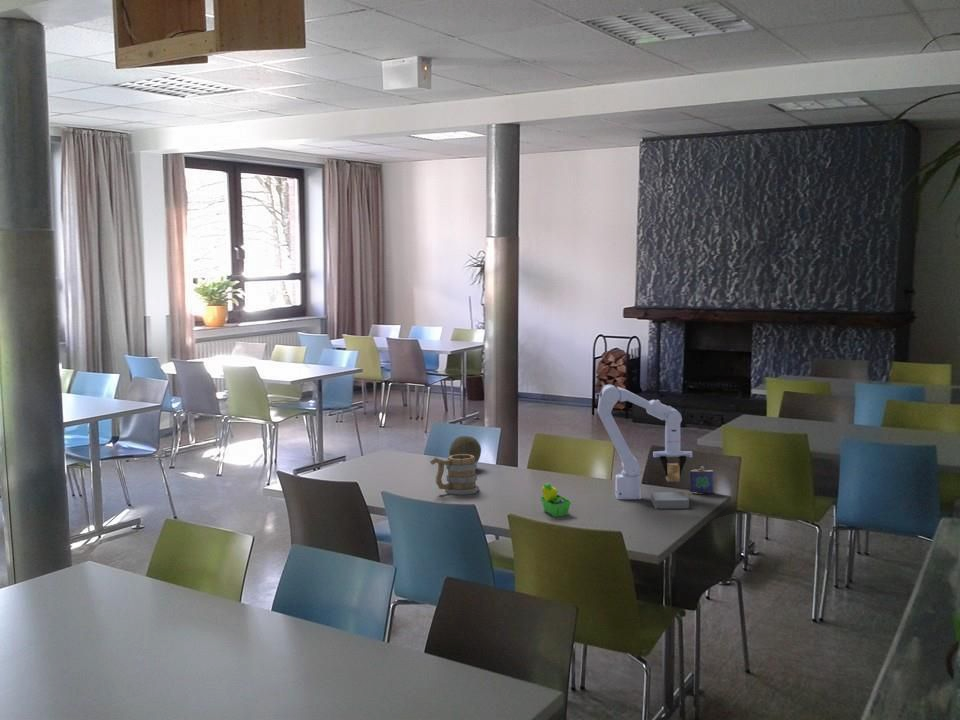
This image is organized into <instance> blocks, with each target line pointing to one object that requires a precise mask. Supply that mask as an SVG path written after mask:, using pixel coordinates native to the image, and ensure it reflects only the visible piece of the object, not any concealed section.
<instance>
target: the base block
mask: <svg viewBox="0 0 960 720" xmlns="http://www.w3.org/2000/svg"><path fill="white" fill-rule="evenodd" d="M651 500H652V501H651ZM650 501H651V503H652V502H653V503H652V504H654V505H655V506H654V505H653V506H654V508H655V507H656V508H659V509H690V499H689V497H687V495H686V494H685V493H684V491H668V492H667V491H663V492H660V491H659V492H657V491H656V492H655V491H654V492H650ZM656 508H655V509H656Z"/></svg>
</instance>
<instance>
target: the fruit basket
mask: <svg viewBox="0 0 960 720" xmlns="http://www.w3.org/2000/svg"><path fill="white" fill-rule="evenodd" d="M541 491H542V496H540V501H541V502H542V506H543V509H544V512H546V513H547V514H549V515H551V516H553V517H563V516H568V513H569V509H570V506H571V503H572V501H571V500H569V499H568V498H565V497H563V496H561V495H559V494H558V492H559V490H558V489H557V488H555V487H554V486H552V485H551V484H550V482H549V483H543V485H542V487H541Z"/></svg>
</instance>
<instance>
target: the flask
mask: <svg viewBox="0 0 960 720" xmlns="http://www.w3.org/2000/svg"><path fill="white" fill-rule="evenodd" d="M690 492H697V493H708V494H707V495H712V494H714V493H715V471H714V470H712V469H708V470H707V469H706V470H705V467H704V465H703V466H702V465H701V466H700V468H699V469H698V468H697V469H695V468H694V469H692V470H689V493H690Z"/></svg>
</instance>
